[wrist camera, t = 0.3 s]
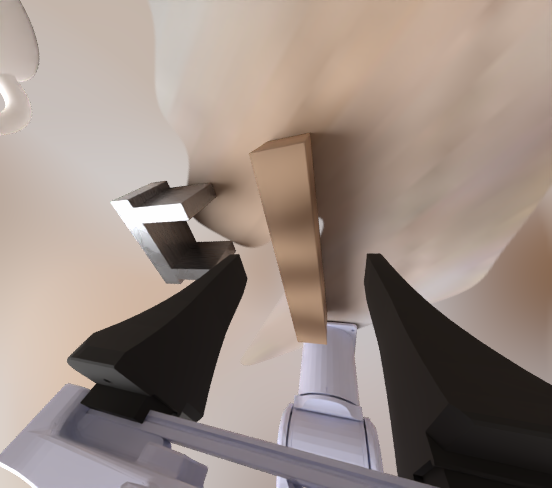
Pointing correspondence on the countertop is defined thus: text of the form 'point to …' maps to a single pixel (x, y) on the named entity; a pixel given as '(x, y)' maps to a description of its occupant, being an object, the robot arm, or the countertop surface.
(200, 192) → the bracket
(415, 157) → the countertop surface
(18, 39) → the mug
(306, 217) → the rail
